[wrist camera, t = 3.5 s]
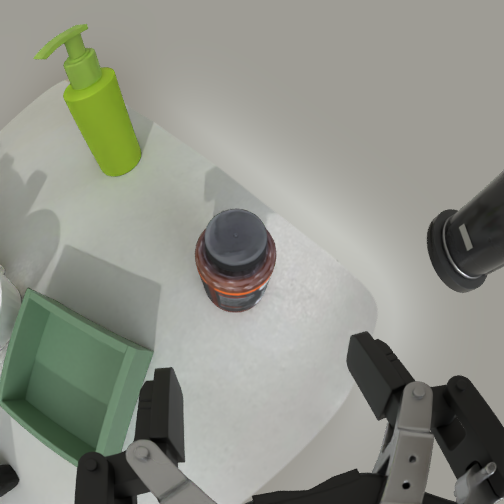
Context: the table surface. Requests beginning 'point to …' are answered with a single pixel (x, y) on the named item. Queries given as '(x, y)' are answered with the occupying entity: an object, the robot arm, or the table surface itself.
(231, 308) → the supplement bottle
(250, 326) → the table surface
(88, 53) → the soap dispenser
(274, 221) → the table surface
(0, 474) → the film camera
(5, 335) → the white letter sculpture
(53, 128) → the table surface
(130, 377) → the green square tray
